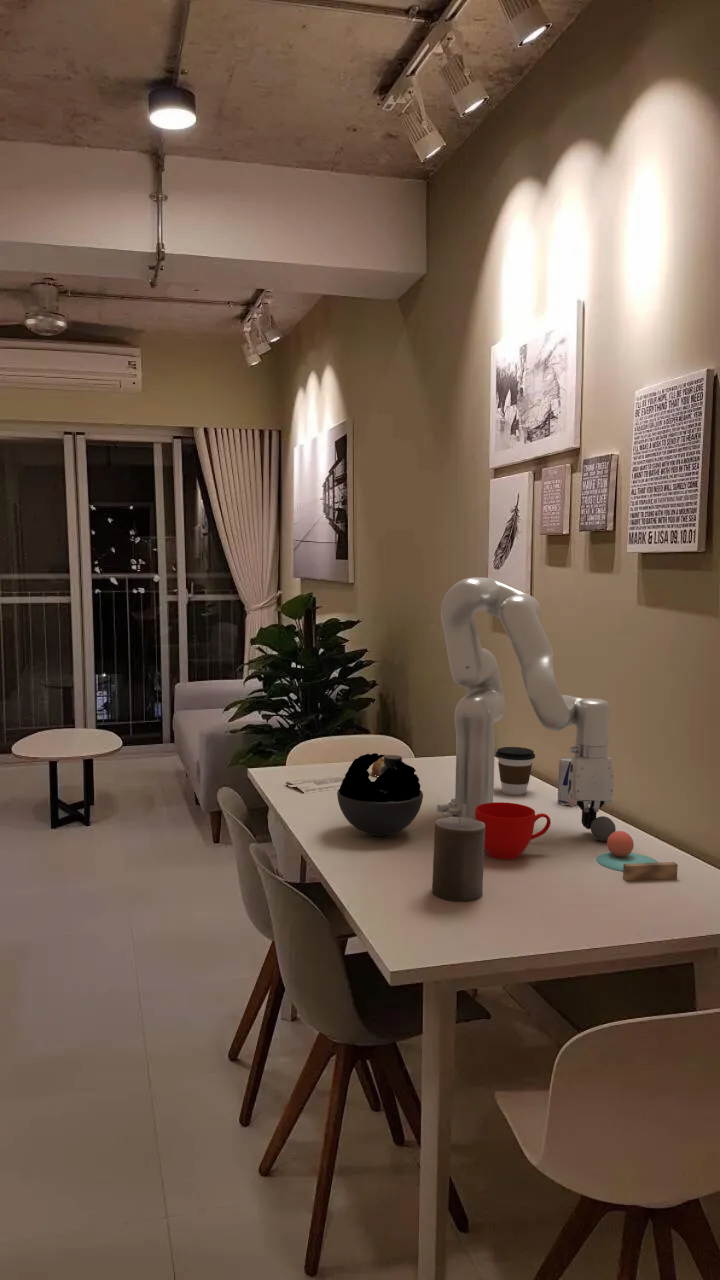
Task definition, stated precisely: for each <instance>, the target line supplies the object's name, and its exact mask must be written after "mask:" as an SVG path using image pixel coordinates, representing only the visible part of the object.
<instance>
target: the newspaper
mask: <svg viewBox="0 0 720 1280" xmlns="http://www.w3.org/2000/svg"><path fill="white" fill-rule="evenodd" d="M344 778H345V774H342V775H333V776H324V777H316V778H314V777H313V778H307V779H299V780H298V779H297V780H290V781H286V782H285V785H286V784H287V785H295V786H296V787H297V788H298V789H299V790H300V791H301V792H302V793H303V792H309V791H315V790H322V789H328V788H335V787H340V786H341V784H342V781H343V779H344Z"/></svg>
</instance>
